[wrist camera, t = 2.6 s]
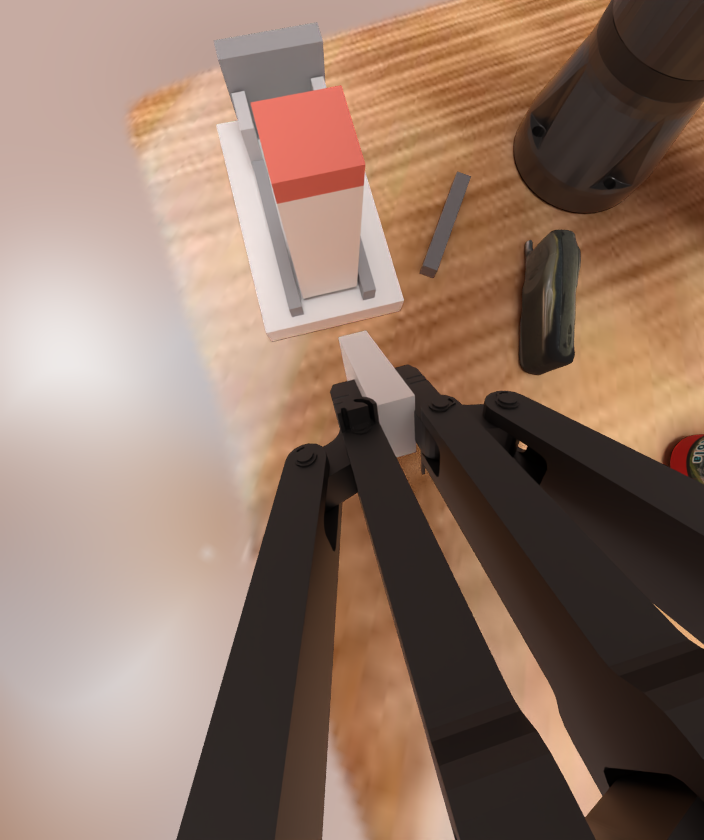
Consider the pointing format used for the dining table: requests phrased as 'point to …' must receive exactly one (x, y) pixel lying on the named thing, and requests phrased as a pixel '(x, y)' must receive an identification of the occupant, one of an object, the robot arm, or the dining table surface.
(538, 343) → the mobile phone
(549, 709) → the dining table surface
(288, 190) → the toggle
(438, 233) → the gray rectangular bar
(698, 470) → the beverage can
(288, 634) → the robot arm
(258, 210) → the gray railed slide base
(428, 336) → the dining table surface
